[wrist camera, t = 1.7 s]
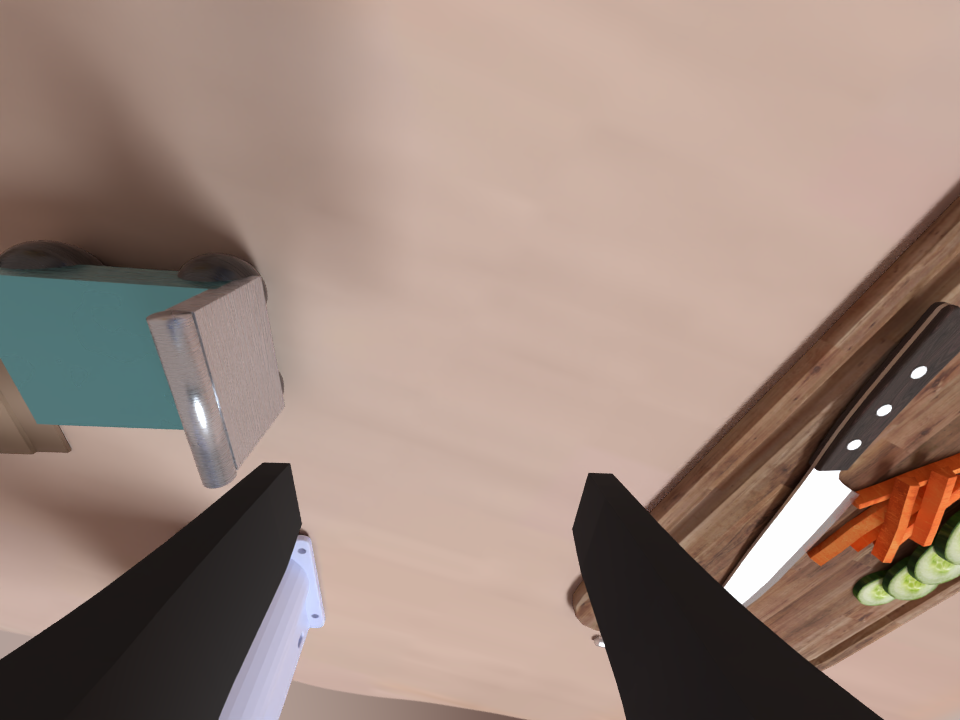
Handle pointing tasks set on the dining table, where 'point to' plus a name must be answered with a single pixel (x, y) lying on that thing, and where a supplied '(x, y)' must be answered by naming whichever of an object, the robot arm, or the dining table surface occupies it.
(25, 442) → the dock bay
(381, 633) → the dining table surface
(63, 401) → the trolley
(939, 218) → the chopping board
